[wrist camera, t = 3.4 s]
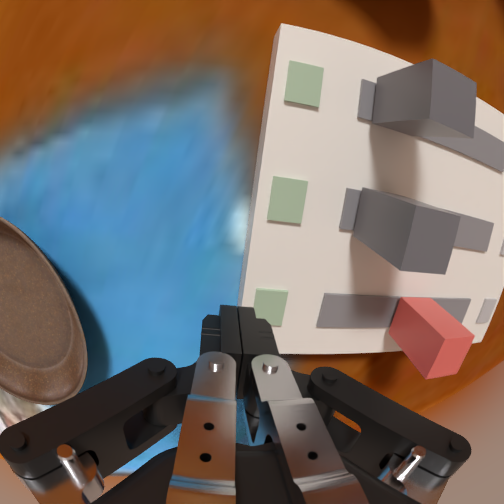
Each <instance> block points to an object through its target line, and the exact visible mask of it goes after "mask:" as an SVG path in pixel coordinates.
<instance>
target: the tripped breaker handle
mask: <svg viewBox="0 0 504 504" xmlns="http://www.w3.org/2000/svg"><path fill="white" fill-rule="evenodd" d="M388 333H389V335H390V336H391V337H392V338H393V339H394V341H395V342H396V343H397V344H398V346H399V347H400V348H401V349H402V350H403V352H404V353H405V354H406V355H407V357H408V358H409V359H410V360H411V362H412V363H413V364H414V365H415V367H416V368H417V369H418V370H419V372H420V373H421V374H422V375H423V377H424V378H425V379H431V378H436V377H442V376H447V375H452V374H456V373H457V372H458V370H459V368H460V366H461V364H462V362H463V360H464V358H465V356H466V354H467V352H468V350H469V348H470V346H471V344H472V342H473V339H474V337H475V335H474V334H472V333H471V332H470V331H469V330H468V329H467V328H466V327H464V326H463V325H462V324H461V323H460V322H459V321H458V320H456V319H455V318H454V317H453V316H452V315H451V314H449V313H448V312H447V311H446V310H445V309H443V308H442V307H441V306H440V305H439V304H437V303H436V302H435V301H434V300H433V299H431V298H420V297H401V298H400V301H399V304H398V307H397V309H396V312H395V315H394V318H393V321H392V324H391V326H390V329H389V332H388Z"/></svg>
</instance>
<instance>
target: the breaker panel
mask: <svg viewBox="0 0 504 504" xmlns="http://www.w3.org/2000/svg"><path fill="white" fill-rule="evenodd" d="M503 287H504V114H502V113H501V112H499V111H498V110H496V109H495V108H493V107H492V106H490V105H489V104H487V103H485V102H484V101H482V100H481V99H479V98H477V97H476V82H474V81H472V80H471V79H469V78H467V77H466V76H464V75H462V74H461V73H459V72H457V71H455V70H453V69H452V68H450V67H448V66H446V65H444V64H442V63H441V62H439V61H437V60H435V59H430V60H426V61H423V62H420V63H417V64H411V63H409V62H407V61H404V60H402V59H400V58H397V57H395V56H392V55H390V54H387V53H384V52H382V51H379V50H376V49H374V48H371V47H368V46H365V45H362V44H359V43H356V42H353V41H350V40H347V39H343V38H340V37H336V36H333V35H329V34H326V33H322V32H318V31H314V30H310V29H306V28H301V27H297V26H292V25H287V24H282V23H281V25H280V27H279V29H278V31H277V32H276V34H275V36H274V42H273V49H272V55H271V62H270V69H269V76H268V83H267V90H266V97H265V104H264V111H263V118H262V125H261V132H260V139H259V147H258V154H257V161H256V168H255V175H254V183H253V190H252V197H251V205H250V212H249V220H248V227H247V234H246V242H245V249H244V257H243V265H242V272H241V280H240V287H239V295H238V303H237V306H243V307H254V310H255V315H256V318H261V319H266V320H267V321H268V322H269V324H270V325H271V327H272V330H273V334H274V337H275V341H276V344H277V348H278V351H279V354H349V353H374V352H392V351H403V350H402V349H401V348H400V347H399V346H398V344H397V343H396V342H395V341H394V339H393V338H392V337H391V336H390V335H389V333H388V332H389V329H390V326H391V324H392V321H393V318H394V315H395V312H396V309H397V307H398V304H399V301H400V298H401V297H420V298H431V299H433V300H434V301H435V302H436V303H437V304H439V305H440V306H441V307H442V308H443V309H445V310H446V311H447V312H448V313H449V314H451V315H452V316H453V317H454V318H455V319H456V320H458V321H459V322H460V323H461V324H462V325H463V326H464V327H466V328H467V329H468V330H469V331H470V332H471V333H472V334H474V335H475V337H474V339H473V342H472V343H477V342H481V341H482V339H483V337H484V335H485V332H486V330H487V328H488V326H489V323H490V321H491V318H492V316H493V314H494V311H495V309H496V306H497V304H498V301H499V298H500V296H501V293H502V290H503Z"/></svg>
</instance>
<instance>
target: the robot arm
mask: <svg viewBox="0 0 504 504" xmlns="http://www.w3.org/2000/svg"><path fill="white" fill-rule="evenodd" d="M235 396H237V399H244V408H243V419H244V423H245V428H246V433H247V437H248V442H249V446H248V445H243V444H238V443H236V400H235ZM335 410H336V411H337V412H339V413H341V414H342V415H344V416H346V417H347V418H349V419H350V420H352V421H354V422H355V423H357V424H358V425H359V426H360V428H361V433H360V432H358V431H356V430H354V429H353V428H351V427H349V426H348V425H346V424H345V423H343V422H341V421H340V420H338V419H337V418H335V417H333V415H334V413H335ZM180 423H182V427H181V432H180V437H179V442H178V447H175V448H172V449H168V450H166V451H164V452H161V453H159V454H158V455H156V456H154V457H153V458H151V459H150V460H149V461H148V462H146V463H145V464H144V465H142V466H141V467H140V468H139V469H137V470H136V471H135V472H133V473H132V474H131V475H129V476H128V477H127V478H125V479H124V480H123V481H121V482H120V483H119V484H117V485H116V486H115V487H113V488H112V489H111V490H109V491H108V492H106V493H105V494H103V495H102V496H101V497H99V496H100V495H101V494H102V492H103V490H104V480H103V479H104V478H105V477H107V476H108V475H110V474H111V473H113V472H114V471H116V470H117V469H119V468H120V467H122V466H123V465H125V464H126V463H128V462H129V461H131V460H132V459H134V458H135V457H137V456H138V455H140V454H141V453H142V452H144V451H145V450H147V449H148V448H150V447H151V446H152V445H154V444H155V443H157V442H158V441H159V440H161V439H162V438H163V437H165V436H166V435H168V434H169V433H170V432H172V431H173V430H174V429H175V428H176V427H177V424H180ZM0 453H1V454H2V456H3V457H4V459H5V460H6V461H7V463H8V464H9V465H10V467H11V469H12V471H13V472H14V473H15V474H16V476H17V477H18V478H19V479H20V481H21V482H22V483H23V484H24V485H25V486H26V488H27V489H28V490H30V491H31V492H32V494H33V495H34V496H35V498H36V499H37V501H38V502H39V504H437V502H438V500H439V498H440V496H441V494H442V492H443V490H444V488H445V486H446V484H447V482H448V479H449V478H450V477H451V476H452V475H453V474H454V473H455V472H456V471H457V470H458V469H459V468H460V467H461V466H462V465H463V464H464V463H465V462H466V460H467V459H468V458H469V456H470V455H471V447H470V444H469V442H468V441H467V440H466V439H465V438H464V437H463V436H461V435H459V434H457V433H455V432H453V431H451V430H449V429H447V428H445V427H442V426H441V425H438V424H436V423H435V422H433V421H431V420H429V419H427V418H425V417H423V416H421V415H419V414H417V413H415V412H413V411H411V410H409V409H407V408H406V407H404V406H402V405H400V404H398V403H396V402H394V401H392V400H391V399H389V398H387V397H385V396H383V395H381V394H380V393H378V392H376V391H374V390H372V389H371V388H369V387H367V386H365V385H363V384H362V383H360V382H358V381H356V380H355V379H353V378H351V377H349V376H348V375H346V374H344V373H342V372H341V371H339V370H337V369H334V368H331V367H319V368H316V369H314V370H313V371H312V373H311V375H307V374H302V373H298V372H295V371H292V370H290V367H289V365H288V363H287V362H286V361H285V360H284V359H282V358H280V355H279V351H278V348H277V344H276V341H275V337H274V334H273V330H272V327H271V325H270V324H269V322H268V321H267V320H266V319H261V318H256V315H255V310H254V307H243V306H230V305H220V310H219V315H207V316H206V317H205V318H204V319H203V320H202V332H201V345H200V356H199V358H198V360H197V361H196V362H195V363H194V364H192V365H190V366H187V367H182V368H176V367H175V365H174V364H173V363H171V362H170V361H168V360H166V359H162V358H149V359H145V360H143V361H141V362H139V363H138V364H136V365H134V366H132V367H130V368H128V369H126V370H124V371H122V372H121V373H119V374H117V375H115V376H113V377H111V378H109V379H107V380H105V381H103V382H101V383H99V384H97V385H95V386H93V387H91V388H89V389H87V390H85V391H83V392H81V393H79V394H77V395H75V396H73V397H71V398H69V399H67V400H65V401H63V402H61V403H59V404H57V405H55V406H53V407H51V408H49V409H47V410H45V411H43V412H40V413H38V414H36V415H34V416H32V417H30V418H28V419H26V420H23V421H21V422H19V423H17V424H15V425H12V426H10V427H8V428H6V429H5V430H4V431H3V432H2V433H1V435H0ZM98 497H99V498H98ZM97 498H98V499H97Z"/></svg>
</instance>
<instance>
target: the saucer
mask: <svg viewBox="0 0 504 504" xmlns="http://www.w3.org/2000/svg"><path fill="white" fill-rule="evenodd" d="M87 366H88V357H87V346H86V340H85V336H84V332H83V329H82V325H81V322H80V319H79V316H78V313H77V310H76V308H75V305H74V303H73V300H72V298H71V296H70V294H69V292H68V290H67V288H66V286H65V284H64V282H63V280H62V278H61V277H60V275H59V274H58V272H57V270H56V269H55V267H54V266H53V265H52V263H51V262H50V260H49V259H48V258H47V257H46V255H45V254H44V253H43V252H42V250H41V249H40V248H39V247H38V246H37V245H36V244H35V243H34V242H33V241H32V240H31V239H30V238H29V237H28V236H27V235H26V234H25V233H24V232H22V231H21V230H20V229H19V228H17V227H16V226H15V225H13V224H12V223H10V222H9V221H7V220H5V219H3V218H2V217H0V388H1V389H3V390H4V391H6V392H7V393H9V394H11V395H13V396H15V397H17V398H19V399H22V400H24V401H27V402H31V403H35V404H42V405H55V404H59V403H61V402H63V401H65V400H67V399H69V398H71V397H73V396H75V395H76V394H77V393H78V392H79V390H80V389H81V387H82V385H83V383H84V380H85V377H86V372H87Z"/></svg>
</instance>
